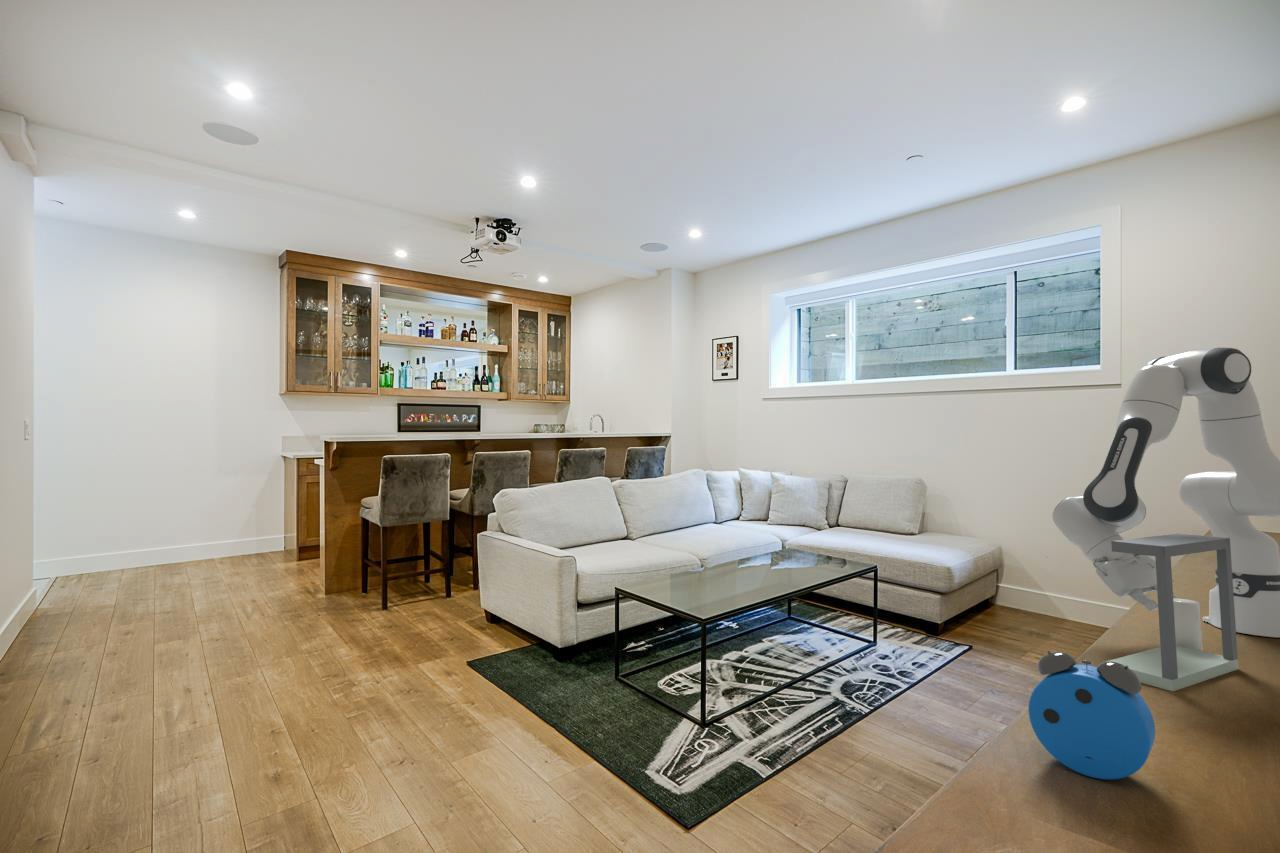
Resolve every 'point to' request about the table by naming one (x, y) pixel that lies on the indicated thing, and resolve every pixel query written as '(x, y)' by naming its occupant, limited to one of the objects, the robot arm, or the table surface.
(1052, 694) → the alarm clock
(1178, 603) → the white cylinder
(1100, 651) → the table surface
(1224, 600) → the grey frame
